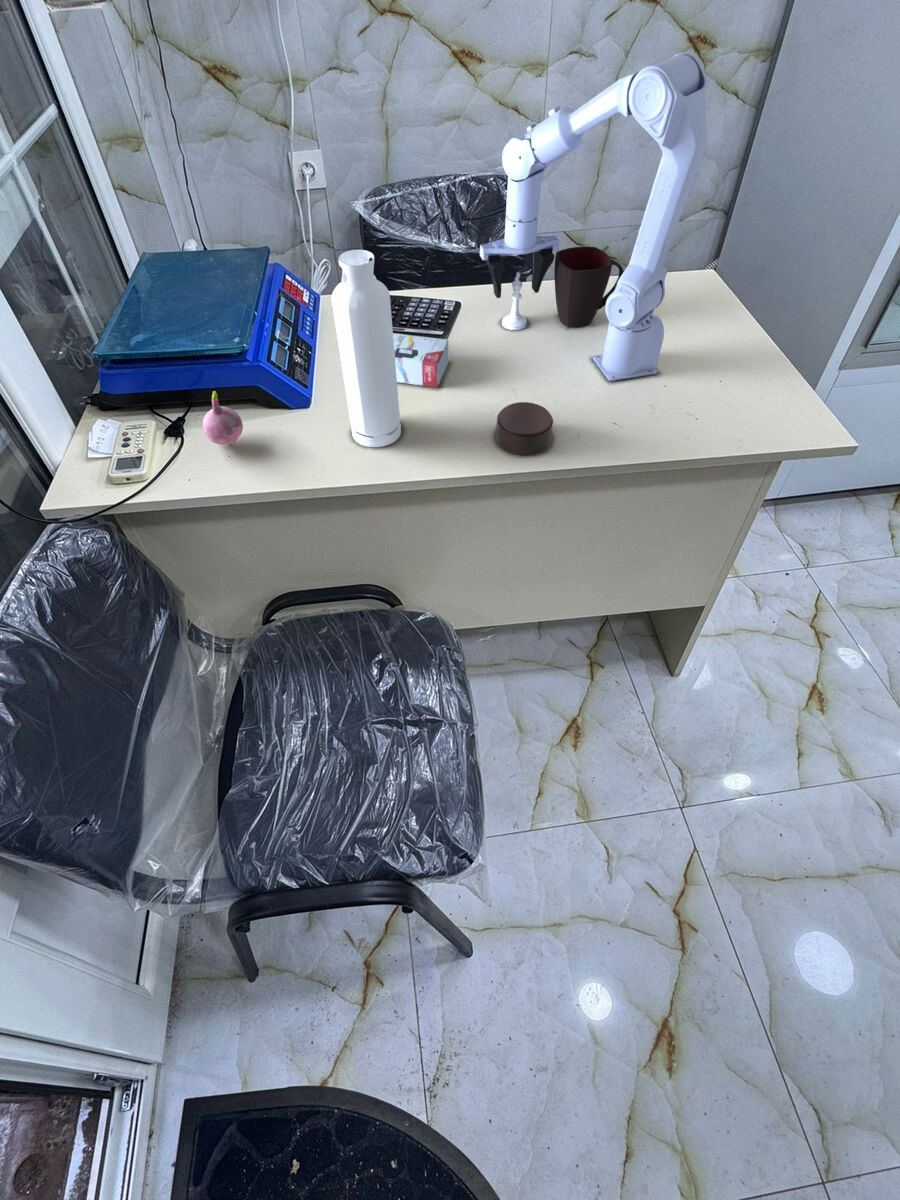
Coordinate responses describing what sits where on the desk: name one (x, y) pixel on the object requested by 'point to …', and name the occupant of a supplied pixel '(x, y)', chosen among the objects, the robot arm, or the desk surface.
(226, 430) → the vegetable
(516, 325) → the chess piece
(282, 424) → the desk surface
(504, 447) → the stand
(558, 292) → the cup
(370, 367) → the bottle
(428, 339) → the ink box
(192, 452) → the desk surface
